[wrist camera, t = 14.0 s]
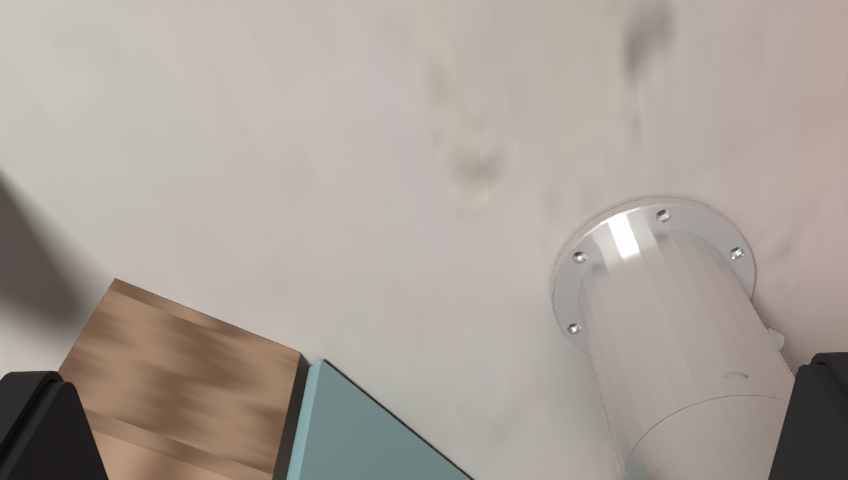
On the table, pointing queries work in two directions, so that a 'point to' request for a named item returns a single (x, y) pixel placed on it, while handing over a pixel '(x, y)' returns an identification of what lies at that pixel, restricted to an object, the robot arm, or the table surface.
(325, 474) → the door
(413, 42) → the table surface
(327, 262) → the table surface
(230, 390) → the cabinet
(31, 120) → the table surface
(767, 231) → the table surface
